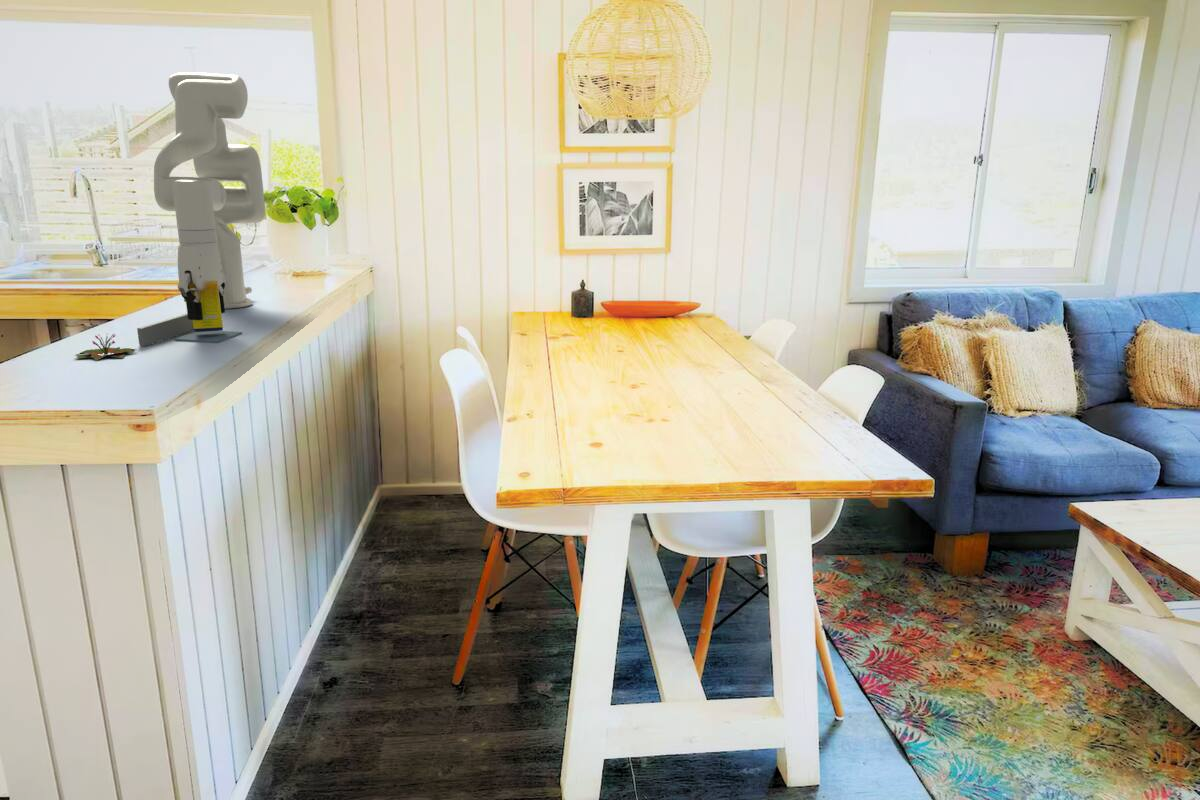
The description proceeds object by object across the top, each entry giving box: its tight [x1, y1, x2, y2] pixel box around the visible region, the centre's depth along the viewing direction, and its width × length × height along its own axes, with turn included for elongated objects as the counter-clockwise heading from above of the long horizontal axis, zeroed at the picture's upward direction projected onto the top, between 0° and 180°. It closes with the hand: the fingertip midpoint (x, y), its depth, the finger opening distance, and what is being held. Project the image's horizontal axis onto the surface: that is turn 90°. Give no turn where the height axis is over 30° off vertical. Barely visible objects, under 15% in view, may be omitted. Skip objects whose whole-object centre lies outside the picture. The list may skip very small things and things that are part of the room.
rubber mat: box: [174, 330, 243, 344], centre depth 182 cm, size 10×10×1 cm
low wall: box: [136, 313, 194, 347], centre depth 182 cm, size 24×1×4 cm, turn 174°
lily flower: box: [74, 332, 137, 361], centre depth 163 cm, size 12×12×5 cm
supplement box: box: [188, 281, 224, 333], centre depth 180 cm, size 6×6×11 cm
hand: (207, 315), depth 180 cm, fingers closed on supplement box, 8 cm apart
